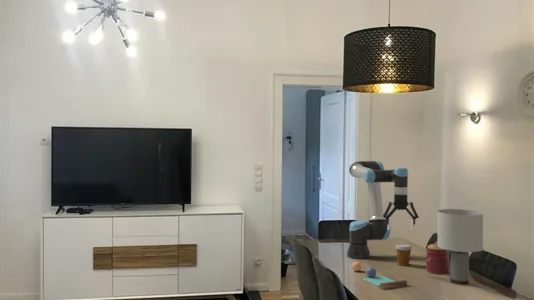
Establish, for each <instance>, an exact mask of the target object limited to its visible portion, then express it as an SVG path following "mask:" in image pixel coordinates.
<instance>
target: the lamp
mask: <svg viewBox="0 0 534 300" xmlns="http://www.w3.org/2000/svg"><path fill="white" fill-rule="evenodd" d="M436 211H437V212H436V213H437V217H436V218H437V219H436V221H437V225H436V226H437V233H436V235H437V240H436V242H437V246H438V247H439V248H442V249H446V250H448V251H450V260H449V273H450V278H449V281H450V283H452V284H454V285H461V286H464V285H465V286H466V285H469V284H470V279H469V277H470V253H474V252H475V253H477V252H481V251H483V250H484V246H483V245H484V212H482V211H478V210H472V209H461V208H460V209H459V208H444V209H438V210H436Z"/></svg>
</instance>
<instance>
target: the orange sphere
mask: <svg viewBox="0 0 534 300" xmlns="http://www.w3.org/2000/svg"><path fill="white" fill-rule="evenodd" d="M351 269H352V270H353V271H354V272H359V271H360V270H361V269H362V263H361V262H360V261H353V262H352V263H351Z"/></svg>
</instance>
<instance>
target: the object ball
mask: <svg viewBox="0 0 534 300" xmlns="http://www.w3.org/2000/svg"><path fill="white" fill-rule="evenodd" d="M365 273H366V275H367V276H368V278H371V277H376V275H377V269H375V268H374V267H373V266H372V267H368V268H367V269H366V271H365Z"/></svg>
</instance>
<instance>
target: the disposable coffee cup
mask: <svg viewBox="0 0 534 300" xmlns="http://www.w3.org/2000/svg"><path fill="white" fill-rule="evenodd" d="M395 249H396V255H397V256H396V257H397V264H398V266H402V267H407V266H408V267H409V265H410V259H411V252H412V246H411V245H410V244H408V243H407V244H405V243H398V244H396V246H395Z"/></svg>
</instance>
